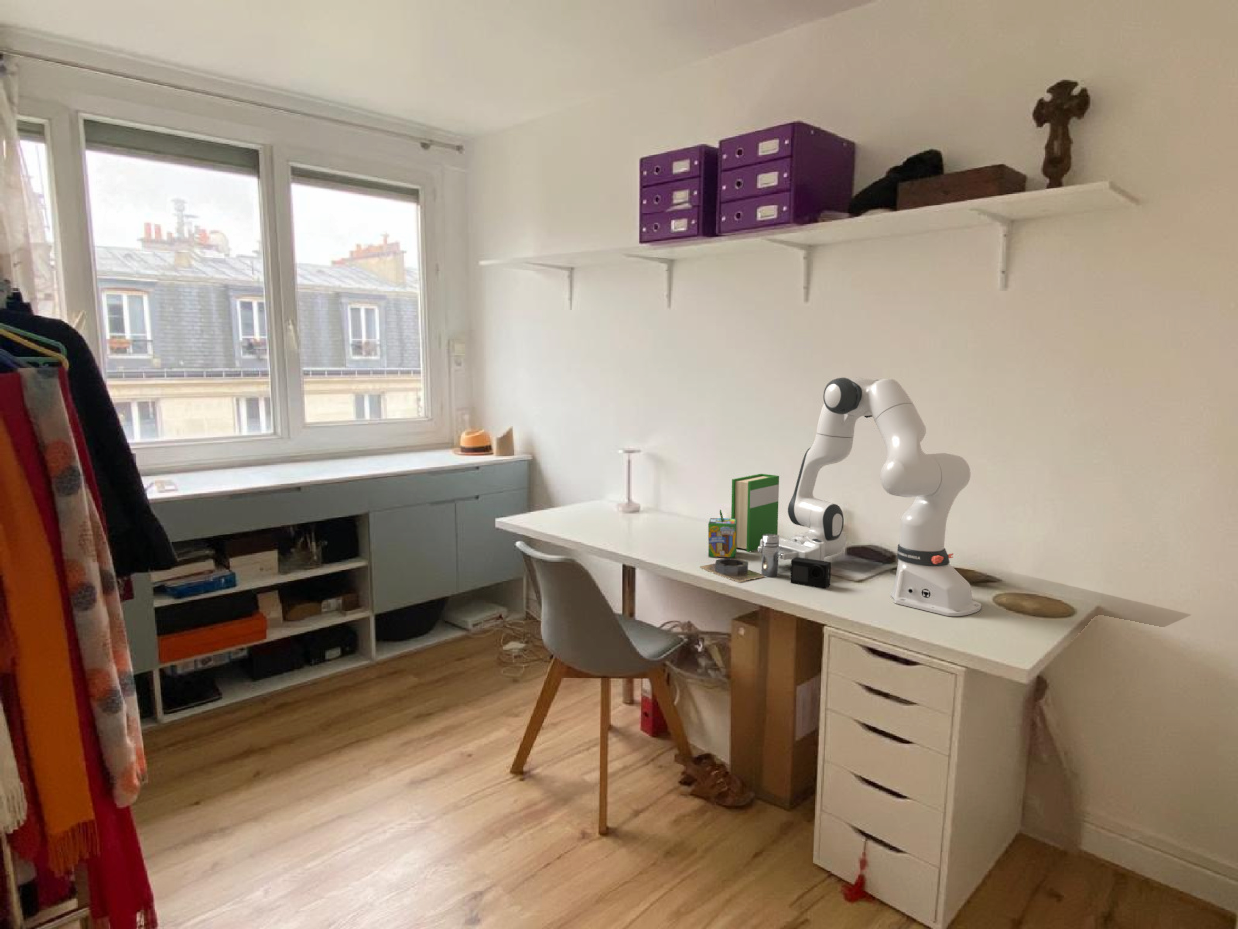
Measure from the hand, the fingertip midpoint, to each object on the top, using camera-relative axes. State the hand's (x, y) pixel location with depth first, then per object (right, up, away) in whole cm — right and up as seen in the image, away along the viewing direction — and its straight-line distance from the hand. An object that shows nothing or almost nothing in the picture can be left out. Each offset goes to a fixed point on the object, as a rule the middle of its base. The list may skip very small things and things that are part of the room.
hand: (770, 553), depth 219 cm
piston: (0, -7, +1) cm, 7 cm away
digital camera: (+9, -8, -9) cm, 15 cm away
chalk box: (-11, -4, +25) cm, 27 cm away
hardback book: (+2, -2, +36) cm, 36 cm away
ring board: (-11, -6, +3) cm, 13 cm away
